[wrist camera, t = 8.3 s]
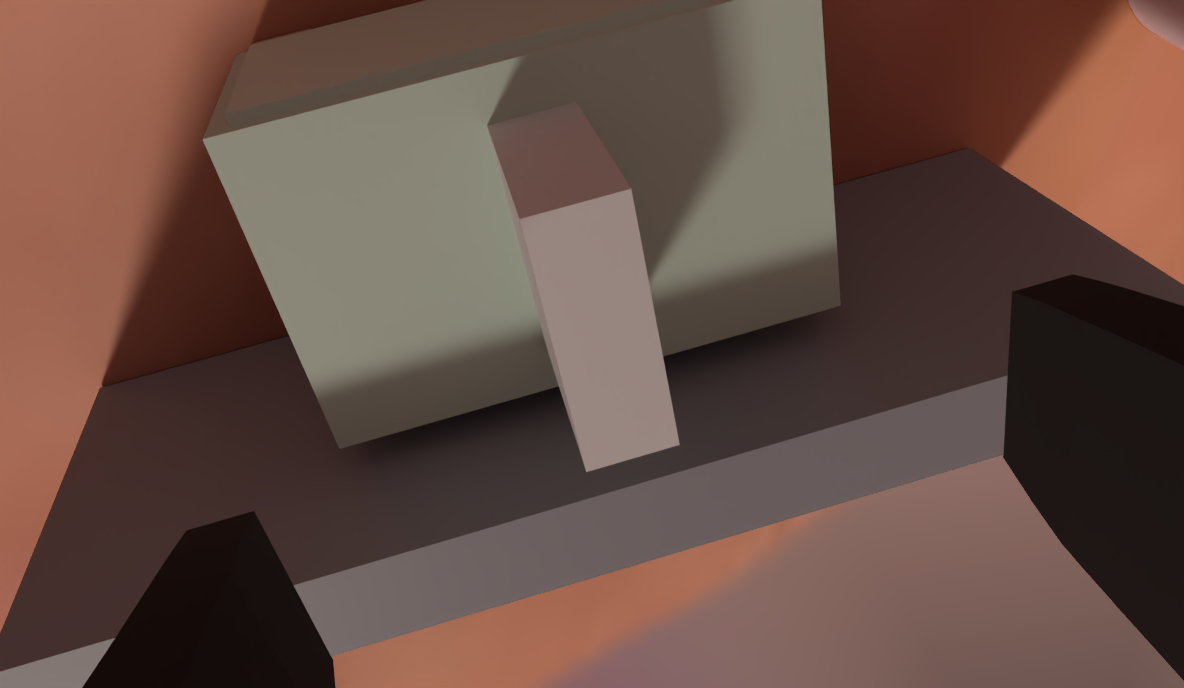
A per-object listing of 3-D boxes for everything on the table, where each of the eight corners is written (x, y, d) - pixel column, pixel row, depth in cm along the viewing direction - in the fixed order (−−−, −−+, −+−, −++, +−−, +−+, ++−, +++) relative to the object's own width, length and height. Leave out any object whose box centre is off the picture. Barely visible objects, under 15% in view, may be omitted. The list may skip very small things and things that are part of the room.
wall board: (135, 446, 20) (39, 743, 14) (20, 253, 17) (-156, 513, 11) (968, 212, 21) (1209, 392, 15) (972, 0, 18) (1262, 116, 12)
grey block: (343, 293, 19) (335, 593, 12) (239, 30, 16) (153, 229, 9) (735, 186, 19) (937, 416, 13) (701, -88, 16) (938, 19, 10)
